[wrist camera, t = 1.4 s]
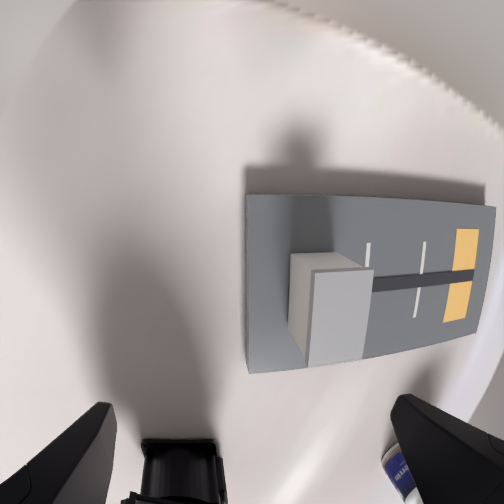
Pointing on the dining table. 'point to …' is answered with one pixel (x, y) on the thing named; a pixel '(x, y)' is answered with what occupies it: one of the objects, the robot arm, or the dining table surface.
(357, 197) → the mixing board
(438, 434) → the robot arm
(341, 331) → the fader
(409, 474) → the pill bottle
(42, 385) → the dining table surface
